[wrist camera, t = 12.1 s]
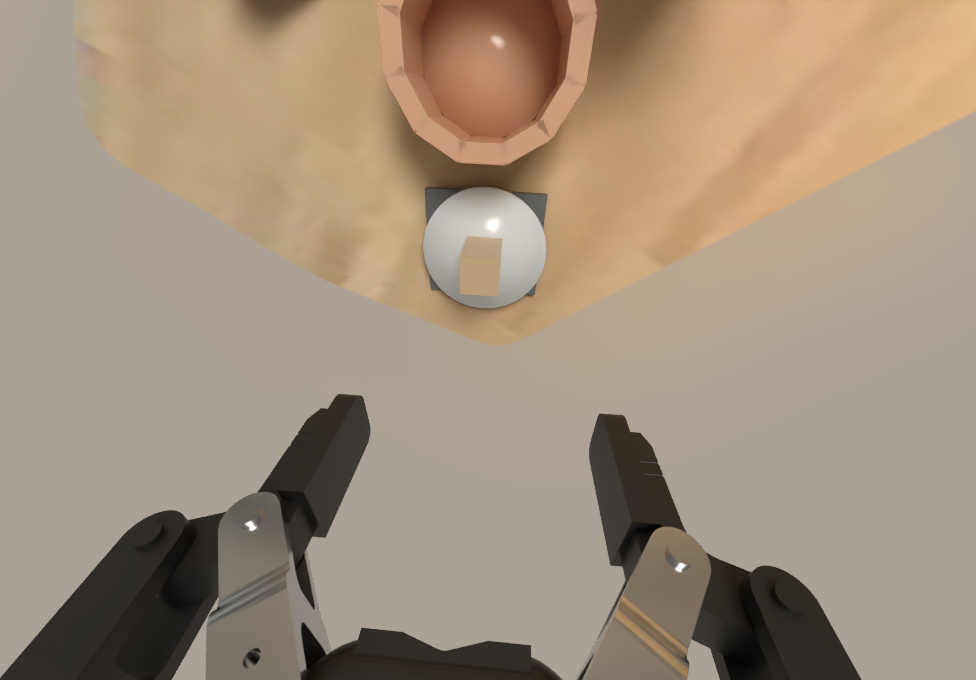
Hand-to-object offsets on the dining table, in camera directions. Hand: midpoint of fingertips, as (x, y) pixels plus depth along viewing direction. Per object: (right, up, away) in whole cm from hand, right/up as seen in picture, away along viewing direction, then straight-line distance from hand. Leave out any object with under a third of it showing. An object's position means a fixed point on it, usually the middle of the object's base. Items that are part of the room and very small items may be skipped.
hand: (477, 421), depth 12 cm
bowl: (+1, +22, +12) cm, 25 cm away
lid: (0, +11, +19) cm, 22 cm away
